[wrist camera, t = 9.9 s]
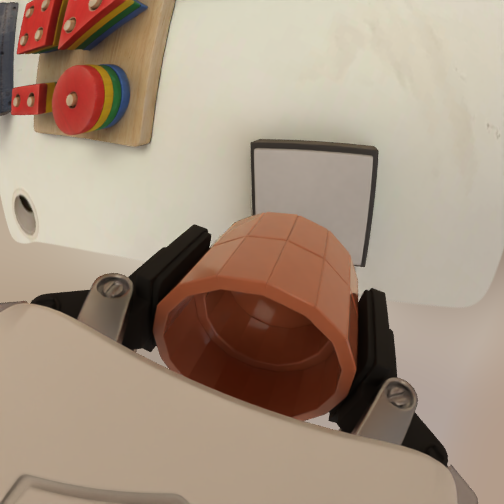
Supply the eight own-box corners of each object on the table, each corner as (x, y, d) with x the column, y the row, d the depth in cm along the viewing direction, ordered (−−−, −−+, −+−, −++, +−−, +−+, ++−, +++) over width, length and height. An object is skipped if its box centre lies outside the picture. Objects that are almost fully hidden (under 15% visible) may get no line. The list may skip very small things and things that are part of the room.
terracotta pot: (385, 289, 11) (394, 387, 7) (280, 350, 14) (250, 435, 10) (285, 174, 10) (238, 226, 6) (190, 265, 13) (126, 335, 9)
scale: (376, 146, 19) (380, 151, 17) (364, 254, 23) (365, 271, 21) (258, 139, 21) (247, 143, 19) (261, 242, 25) (251, 258, 23)
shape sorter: (62, -4, 18) (23, -8, 13) (186, -35, 15) (146, -60, 10) (43, 129, 27) (3, 140, 22) (151, 145, 24) (104, 159, 19)
